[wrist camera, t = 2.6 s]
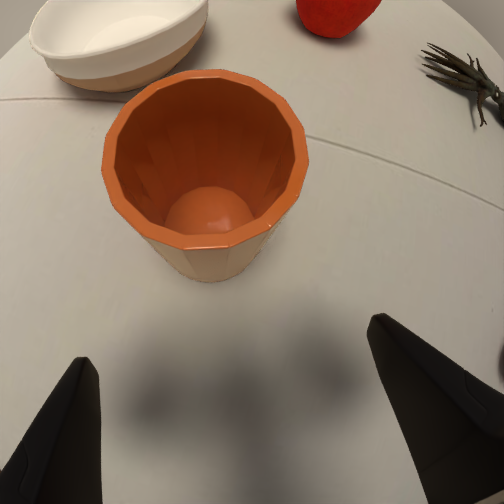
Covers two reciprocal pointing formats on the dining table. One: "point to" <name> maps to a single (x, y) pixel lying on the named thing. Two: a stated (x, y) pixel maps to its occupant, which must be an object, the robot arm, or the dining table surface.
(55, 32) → the bowl
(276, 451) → the dining table surface
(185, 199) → the cup
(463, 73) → the figurine
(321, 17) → the apple
